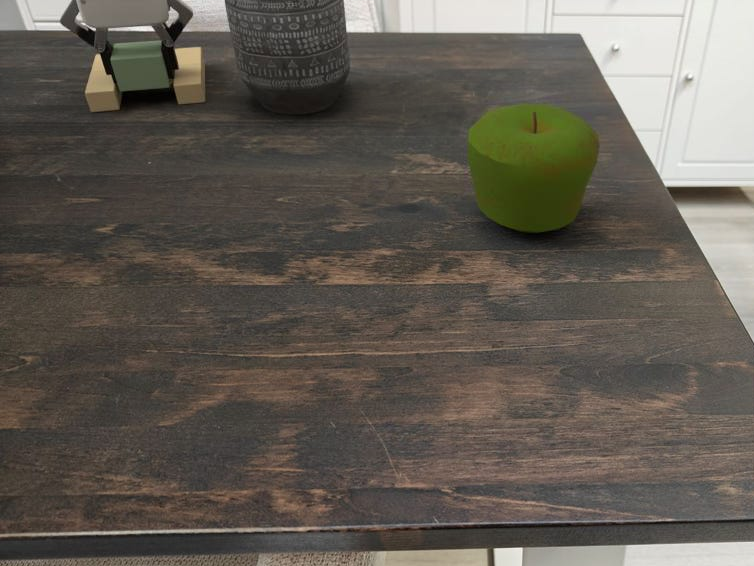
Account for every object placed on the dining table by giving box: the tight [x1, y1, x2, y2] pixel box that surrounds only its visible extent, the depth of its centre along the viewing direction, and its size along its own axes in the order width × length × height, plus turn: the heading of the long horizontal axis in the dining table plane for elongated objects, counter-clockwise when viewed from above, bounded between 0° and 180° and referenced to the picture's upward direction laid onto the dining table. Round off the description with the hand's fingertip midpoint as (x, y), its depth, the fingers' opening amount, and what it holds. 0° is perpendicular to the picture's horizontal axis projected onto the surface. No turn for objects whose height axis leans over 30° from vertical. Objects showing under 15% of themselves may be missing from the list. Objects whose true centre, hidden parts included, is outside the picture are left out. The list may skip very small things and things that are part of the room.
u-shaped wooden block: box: [84, 46, 206, 113], centre depth 100 cm, size 14×14×2 cm
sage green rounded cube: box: [111, 39, 171, 92], centre depth 96 cm, size 6×6×4 cm
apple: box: [467, 103, 601, 234], centre depth 73 cm, size 12×12×11 cm
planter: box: [224, 0, 351, 116], centre depth 94 cm, size 14×14×15 cm
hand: (144, 76), depth 97 cm, fingers closed on sage green rounded cube, 6 cm apart
